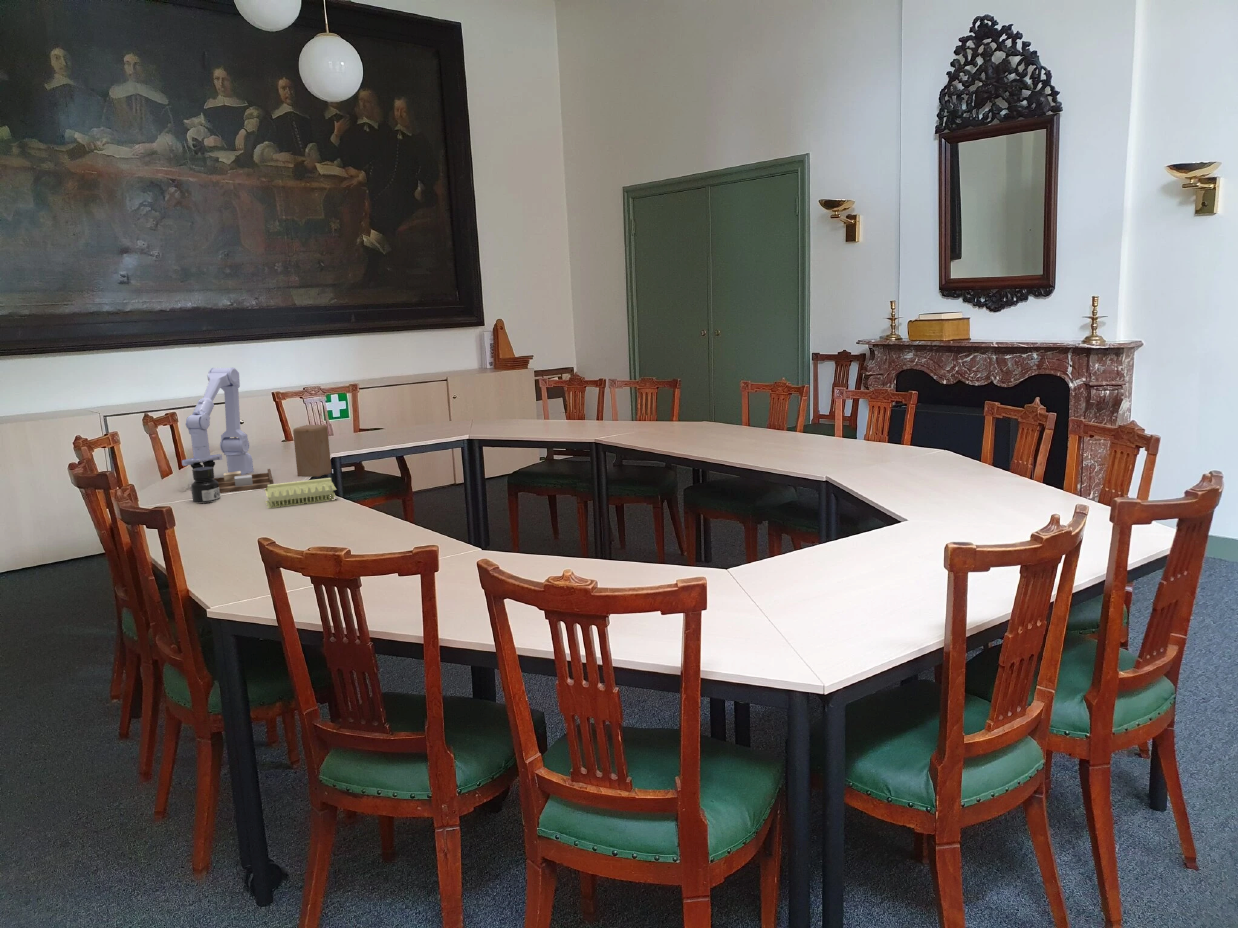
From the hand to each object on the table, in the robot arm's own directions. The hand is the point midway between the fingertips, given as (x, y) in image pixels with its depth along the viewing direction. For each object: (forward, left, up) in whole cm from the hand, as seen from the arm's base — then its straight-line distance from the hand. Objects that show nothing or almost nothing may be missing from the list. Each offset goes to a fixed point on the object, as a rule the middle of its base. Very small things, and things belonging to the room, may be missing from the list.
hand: (205, 481), depth 333 cm
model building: (+7, +52, -3) cm, 53 cm away
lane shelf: (-4, +12, -3) cm, 13 cm away
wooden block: (-29, +27, -3) cm, 40 cm away
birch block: (-3, +6, -2) cm, 7 cm away
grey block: (-2, +17, -2) cm, 18 cm away
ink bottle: (+18, +19, -3) cm, 26 cm away
